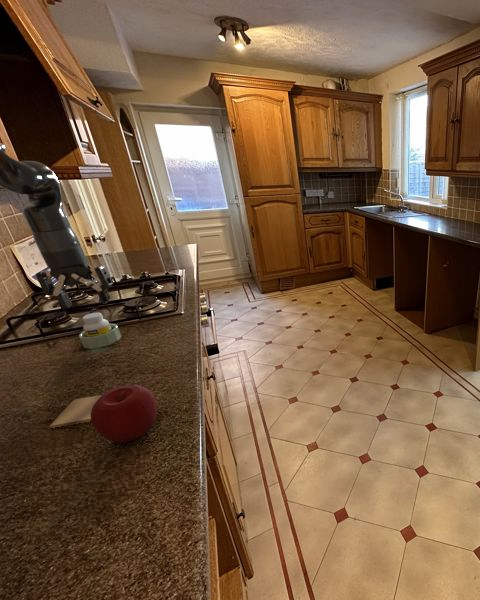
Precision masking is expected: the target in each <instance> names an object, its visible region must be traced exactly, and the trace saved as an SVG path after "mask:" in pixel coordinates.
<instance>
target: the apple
mask: <svg viewBox="0 0 480 600" xmlns="http://www.w3.org/2000/svg"><path fill="white" fill-rule="evenodd" d="M101 395H102V396H101V397H100V398H99V399H98V400H97V401H96V402H95V404H94V405H93V408H92V411H91V422H90V423H91V424H92V426H93V428H94V429H95V430H96V431H97V433H98V434H100V435H101V436H102V437H104V438H105V439H107V440H109V441H111V442H115V443H129V442H131V441H135V440H137V439H139V438H141V437H142V436H144V435H145V434H146V433H148V432H149V431H150V430H151V428H152V427H153V426H154V424H155V422H156V419H157V415H158V414H157V413H158V403H157V400H156V398H155V396H154V393H153V392H152V391H150V389H149V388H146V387H144V386H142V385H138V384H126V385H120V386H117V387H113V388H111V389H109V390H108V391H106V392H104V393H103V394H101ZM143 434H144V435H143ZM140 436H141V437H140ZM138 437H139V438H138ZM136 438H137V439H136ZM134 439H135V440H134ZM128 441H129V442H128Z"/></svg>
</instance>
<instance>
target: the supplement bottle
mask: <svg viewBox="0 0 480 600" xmlns="http://www.w3.org/2000/svg"><path fill="white" fill-rule="evenodd" d="M82 320H83V321H82V322H84V324H83V327H82V328H83V331H85V333H86V335H87V337H96V336H99V335H103V334H105V333H108V332H110V331H112V329H111V327H110V324H111V323H110V322H109V321H108V319H105V318H104V316H103V314H102V313H101V312H92V313H88V314H85V315H84V316H83V317H82Z"/></svg>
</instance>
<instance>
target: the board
mask: <svg viewBox="0 0 480 600" xmlns="http://www.w3.org/2000/svg"><path fill="white" fill-rule="evenodd" d="M102 395H103V394H99V395H93V396H85V397H81V398H75V399H73V400H72V401H71V402H70V403H69V404H68V405H67V406H66V408H64V410H63V411H62V412H61V413H60V414H59V415H58V416H57V418H56V419H55V420H53V421H52V423H51V424H50V425H49V427H50V429H51V428H53V429H56V428H55V427H59V428H62V427H61V426H64V427H68V426H67V425H70V426H74V425H73V424H76V425H80V424H79V423H81V424H85V423H84V422H87V423H91V422H90V421H91V411H92V408H93V405H94V404H95V402H96V401H97V400H98V399H99V398H100V397H101V396H102Z"/></svg>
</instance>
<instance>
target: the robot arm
mask: <svg viewBox="0 0 480 600" xmlns="http://www.w3.org/2000/svg"><path fill="white" fill-rule="evenodd" d="M0 188H2V189H4V190H6V191H8V192H10V193H14V194H16V195H25V196H26V195H27V201H28V203H27V204H26V205H25V206H24V207H23V208H22V211H21V212H22V215H23V217H24V219H25V222H26V224H27V227H29V229H30V231H31V234H32V237H33V240H34V243H35V245H36V247H37V249H38V251H39V253H40V255H41V256H42V259H43V261H44V263H45V265H46V267H47V268H49V269H50V270H47V269H43V270H40V271H38V272H36V273H35V277H36V279H37V281H38V283H39V286H40V288H41V290H42V292H43V294H44V295H46V296H49V295H53V296H55V297H56V299H57V301H58V303H59V305H60V306H61V307H63V308H64V309H69V308H71V307H72V306H73V303H72V300H71V299H70V296H69V294H68V293H67V292H66V290H67V288H68V287H71V286H83V285H85V286H87V287H89V288H90V287H91V288H92V289H94V290H95V291H96V293H97V296H98V297H99V300H100V302H101V304H102V305H105V304H108V303H109V302H110V300H111V296H110V294H109V291H108V289H109V288H110V287H112V286H113V285H114V281H113V280H112V278H111V276H110V273H109V271H108V269H107V267H106V266H105V265H104V264H100V265H98V266H91V265H89V262H88V258H87V256H86V254H85V252H84V249H83V247H82V244H81V242H80V241H79V240H80V239H79V238H78V235H77V234H76V232H75V231H74V230H73V227H72V226H71V223H70V221H69V219H68V216H67V214H66V213H65V210H64V203H63V195H62V189H61V185H60V182H59V180H58V177H57V176H56V174H55V173H54V171H53V170H52V169H51V168H50V167H49V166H48V165H46V164H44V163H42V162H39V161H37V160H16V159H14V158H12V157H11V156H9V154H7V153H6V147H5V145H4V144H3V142H2V141H0ZM93 273H94V275H93ZM96 276H97V277H96ZM52 278H54V279H55V280H57V281H56V284H54V282H53V279H52Z"/></svg>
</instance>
